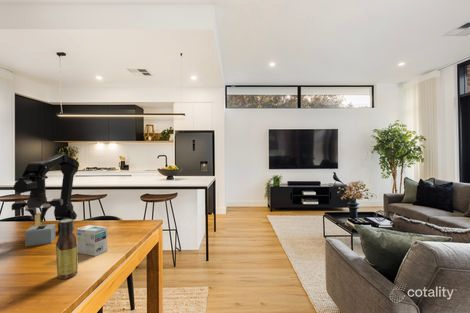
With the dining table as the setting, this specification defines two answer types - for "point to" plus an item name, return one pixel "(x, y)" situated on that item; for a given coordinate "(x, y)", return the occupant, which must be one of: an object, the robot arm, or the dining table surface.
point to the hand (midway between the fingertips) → (39, 221)
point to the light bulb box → (91, 240)
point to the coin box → (40, 235)
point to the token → (38, 219)
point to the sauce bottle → (66, 250)
